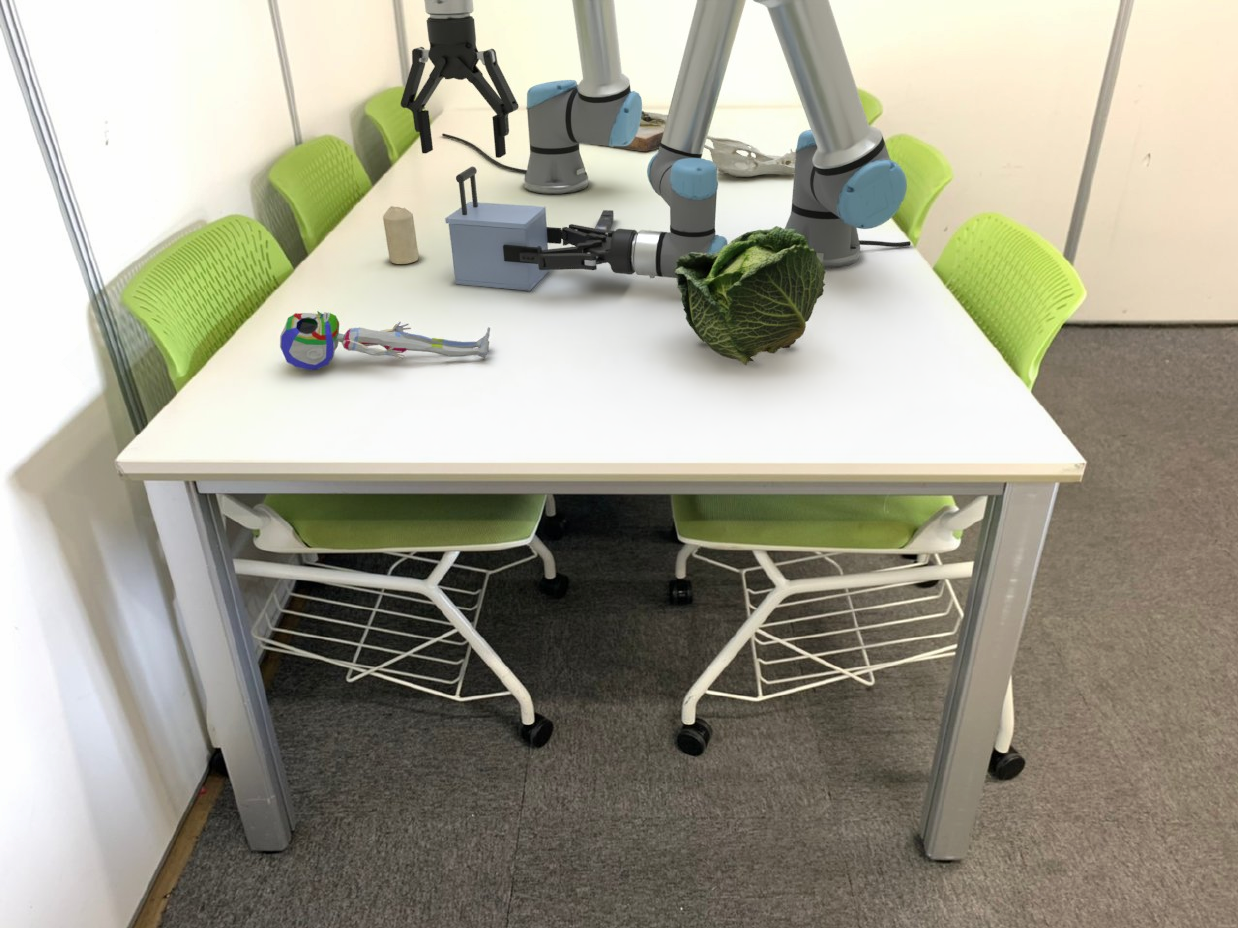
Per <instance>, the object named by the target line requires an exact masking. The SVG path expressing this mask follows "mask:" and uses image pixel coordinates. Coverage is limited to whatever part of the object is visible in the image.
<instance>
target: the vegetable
mask: <svg viewBox="0 0 1238 928" xmlns="http://www.w3.org/2000/svg"><path fill="white" fill-rule="evenodd" d="M727 244H728V245H725V246H723V248H722V249H721V250H720V251H718V252H715V253H713V254H709V253H695V252H691V253H688V254H685V255H683V256H682V257H679V258H678V259H677V261H676V262H677V264H676V266H675V270H674V271H675V274H676V278H675V279H676V282H677V287H676V288H677V290H678V291H679V292H680V293H681V303H682V306H683V312H684V313H685V320H686V322H687V323H688V325H689V327H690V328H691V329H692V330H693V332H694V333H695V335H697V337H698V338H699V339H700V340H701V341H702V342H703V343H705V344H706V345H707V346H708V347H709V349H711V350H712V351H713V352H715V354H716V353H717V354H718V355H720V356H722V357H724V358H727V359H732V360H737V361H739V362H741V363H742V364H743V365H745V366H747V365H748V363H749V362H753V363H754V362H755V360H754V359H753V357H755V356H756V355H758V354H760V353H762V352H764V353H768V354H775V353H776V352H778V350H781V349H789V348H791V346H792V345H795V343H796V341H797V340H798V339H800V338H801V337H802V336H803V335H804V334H805V332H806V328H807V324H806V323H807V322H809V320H810V319H811V316H812V314H813V311H814V307H815V305H816V304H817V303H818V302H817V301H818V299H819V298H820V297H822V296H823V295H824V291H825V290H824V286H825V285H826V283H825V282H824V281H825V274H826V271H825V268H823V264H822V262H821V261H820V260H819V258H818V257H817V253H816V252H815V250H814V249H809V247H808V242H807V239H806V237H805V236H803V235H800V234H798V233H796V230H795V229H785V228H782V227H781V226H778V225H775V226H774V227H772V228H771V229H757V230H751V231H747V232H745V233H742V234H741V235H739V236H738V237H736V238H733V239H732V240H731V241H730V243H727Z"/></svg>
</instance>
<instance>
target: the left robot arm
mask: <svg viewBox="0 0 1238 928" xmlns="http://www.w3.org/2000/svg"><path fill="white" fill-rule="evenodd" d="M571 1H572V9H573V15H574V16H573V17H574V23H575V31H576V38H577V47H578V53H579V60H580V67H581V74H582V78H581V80H580V81H579V83H578V82H577V81H576V80H575V79H563V80H561V79H560V80H554V81H548V82H543V83H539V84H535V85H532V86H531V87H530V88H529V89H528V90H527V93H526V107H525V108H526V109H525V110H526V113H527V127H528V140H529V141H528V142H529V157H528V162H527V168H526V169H522V168H517V167H512V166H509V165H506V164H503V163H500V162H499V161H497V160H495V159H493V157H491V156H490V155H488V154H487V153H486V152H484V151H483V150H482V149H480V147H478V146H476V145H475V144H474V143H471V142H470V141H468V140H465V139H463V138H460V137H458V136H455V135H451V134H447V133H442V134H441V137H445V138H448V139H451V140H456V141H458V142H462V143H463V144H465V145H468V146H470V147H471V148H473V149H474V150H475V151H478V153H479V154H481V155H482V156H483V157H484V158H486V159H487V160H488V161H490V162H491V163H493V164H495V165H496V166H498V167H500V168H502V169H506V170H509V171H512V172H516V173H517V172H518V173H522V174H525V175H524V178H523V179H524V180H523V183H524V188H525V189H526V190H527V191H530V192H531V193H535V194H536V193H537V194H543V195H544V194H545V195H562V194H570V193H576V192H579V191H583V190H584V189H586V188H587V187H589V175H588V173H587V171H586V167H585V164H584V161H583V158H582V156H581V153H580V144H585V145H596V146H607V147H611V148H614V147H613V146H627V145H629V144H630V143H631V142H632V141H633V140H634V138H635V136H636V134H637V132H638V129H639V125H640V121H641V115H642V111H643V100H642V97H641V94H640V93H639V92H637V91H636V90H631V81H630V79H629V77H628V76H626V75H625V74H624V73H623V72H622V71H623V70H622V61H621V53H620V43H619V33H618V24H617V16H616V7H615V6H616V5H615V0H571ZM424 9H425V13H426V14H427V15H429V17H427V19H426V29H427V38H428V42H429V49H426V48H425V47H424V46H420V47H419V46H418V47H415V48H413V49H412V50H411V63H412V64H411V66H410V70H409V73H408V76H407V79H406V83H405V86H404V89H403V93H402V97H401V100H400V107H401V108H402V109H408V110H410V111H411V113H412V118H413V127H414V130H415V132H416V133H419V141H420V146H421V147H420V148H421V154H425V155H426V154H428V153H430V152H432V151H434V147H433V137H432V129H431V119H430V112H429V110H428V109H427V110H425V109H426V105H427V103H428V102H429V100H430V99H431V97H432V96H433V94H434V92H435V91H436V90H437V88H438V86H439V85H440V83H441V81H442V80H443V79H444V80H452V79H455V80H458V81H463V80H465V79H466V80H467V82H468V83H470V84H472V85H473V87H474V88H475V89H476V90H477V91H478V93H479V94H480V95H481V96H482V98H483V99H484V100H485V101H486V103H487V104H488V105H489V107H490V108H491V109H492V110H493V111H494V113H495V115H492V116H491V117H492V127H493V128H492V129H493V140H494V152H495V158H497V159H498V158H502V157H504V156H505V155H507V151H506V150H507V149H506V140H505V139H506V138H505V137H506V136H508V135H509V133H510V125H509V114H511V113H513V112H515V111H517V110H518V109H519V108H520V107H519V106H520V105H519V103H518V101H517V99H516V97H515V95H514V94H513V91H512V88H511V87H510V85H509V83H508V82H507V79H506V77H505V75H504V73H503V71H502V69H501V67H500V65H499V62H498V58H497V57H498V56H497V51H496V50H495V49H494V48H490V49H487V50H480V51H479V50H478V48H477V36H476V35H477V34H476V25H475V18H474V16H472V15H471V14H472V13H473V12H474V11H475V10H474V9H475V8H474V1H473V0H424ZM429 60H430V62H431V63H432V65H433V66H434V67H433V69H432V70H431V72H430V73H429V75H428V78H427V80H426V82H425V83H424V85H423V87H422V88H421V90H420V91H419V93H418V90H419V87H420V83H421V80H422V78H423V77H422V76H423V73H424V71H425V67H426V63H428V61H429ZM479 61H480V62H481V64H482V65H483V66H484V67H485V70H486V72H487V74H488V77H489V78H490V80H491V82H492V84H493V87H494V88H495V89H494V88H493V87H492V86H491V85H490V83H489V82H488V80H487V79H486V77H484V74H483V72H482V71H481V70H480V68H479V67H478V66H477V65H478V63H479ZM495 90H496V91H495Z"/></svg>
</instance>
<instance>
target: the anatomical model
mask: <svg viewBox="0 0 1238 928" xmlns="http://www.w3.org/2000/svg"><path fill="white" fill-rule="evenodd" d="M706 140H709V141H711V143H712V147H710V146H709V145H707V144H705V146H704V149H706V150H709V152H710V157H711V161H712V162H713V163H714V164H715V165H716V167H717V172H720V173H722V174H728V175H729V176H732V177H735V178H736V177H737V178H748V177H749V178H750V177H755V176H759V175H785V176H786V175H787V176H789V175H794V171H795V159H796V153H795V151H793V149H792V148H790V149H789V150H790V153H789V152H787V153H785V154H784V155H782V156H781V155H771V154H765V153H763V152H761V151H760V149H758V148H757V147H755V146H753V145H751V144H748V143H745V142H743V141H740V140H737V139H731V138H728V137H727V138H726V137H724V138H723V137H715V136H711V135H707V139H706ZM737 151H744V152H746V153H747V155H743V154H741V153H739V152H737ZM752 154H754V155H755V157H754V156H752Z"/></svg>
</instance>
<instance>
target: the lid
mask: <svg viewBox="0 0 1238 928" xmlns="http://www.w3.org/2000/svg"><path fill="white" fill-rule="evenodd" d="M477 172H478V171H477V168H476V167H475V166H470V167H468V168H466V169H465V170H463V171H462V172H460V173H458V174H457V175H456V176H455V180H456V182H457V183H458V187H459V196H460V206H461V207H459V208H458V209H456V210H455V211H453V212H452V213H451V214H448V216H446V217H445V218H444V222H445V224H448V225H449V224H462V225H476V226H489V227H503V228H517V229H526V228H527V227H528V226H530V225H531V224H532V223H533V222H534V221H535V220H537V219H538V218H539V217H540V216H541V215H542V214H544V213H545V212H546V213H547V209H546V208H547V207H546V206H539V205H538V206H537V205H525V204H511V203H510V204H507V203H494V202H493V203H492V202H478V193H477V192H478V191H477V183H476V174H477ZM467 180H470V189H471V199H472V201H468V202H467V198H466V189H465V181H467Z"/></svg>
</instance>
